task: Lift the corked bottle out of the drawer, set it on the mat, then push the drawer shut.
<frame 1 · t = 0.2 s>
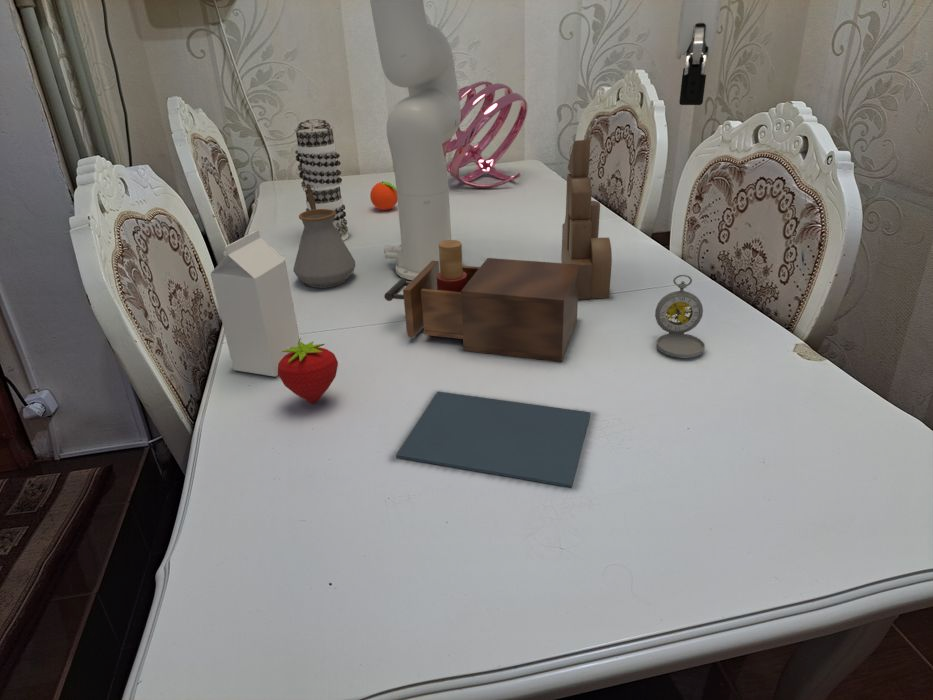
hand: (690, 100, 97), 31 cm above the table, tool pointing down, fingers open, 9 cm apart
coffee pot: (324, 272, 126), on the table
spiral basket: (482, 182, 184), on the table
mat: (497, 435, 76), on the table
wooden toy: (583, 283, 116), on the table
cabinet: (522, 335, 99), on the table
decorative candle: (329, 238, 145), on the table
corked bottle: (453, 316, 101), point 2 cm above the table, touching drawer
pocket watch: (679, 346, 94), on the table
strawberry: (314, 404, 84), on the table
drawer: (446, 299, 100), point 5 cm above the table, slide at 8.0 cm, touching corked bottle
clementine: (387, 210, 163), on the table
milk carton: (269, 364, 94), on the table
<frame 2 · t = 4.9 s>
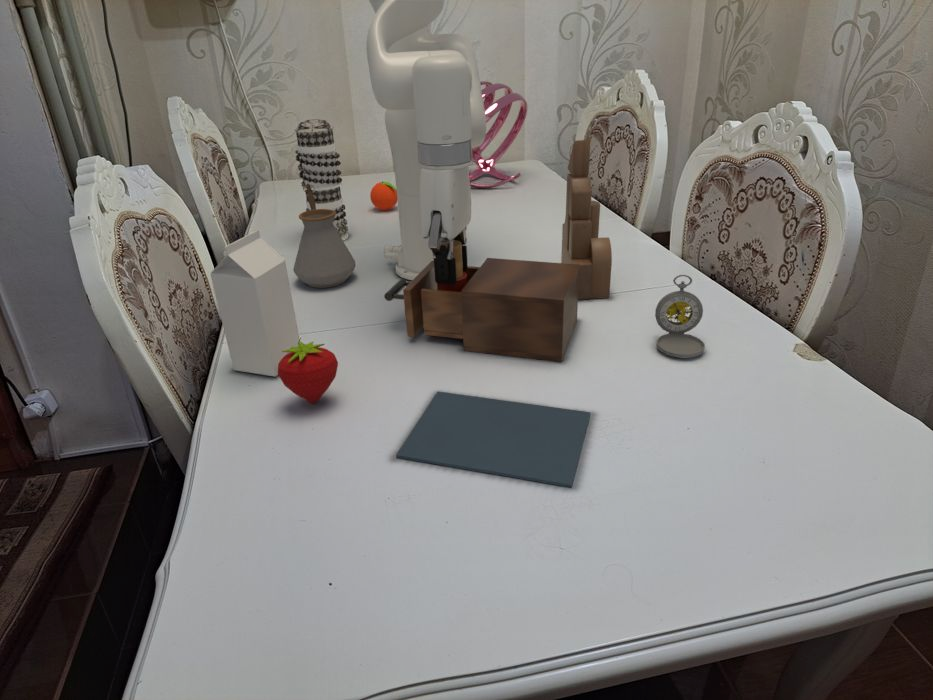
hand: (451, 275, 98), 9 cm above the table, tool pointing down, fingers closed on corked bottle, 4 cm apart
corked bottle: (453, 316, 101), point 2 cm above the table, touching drawer, gripper
everything else where it was.
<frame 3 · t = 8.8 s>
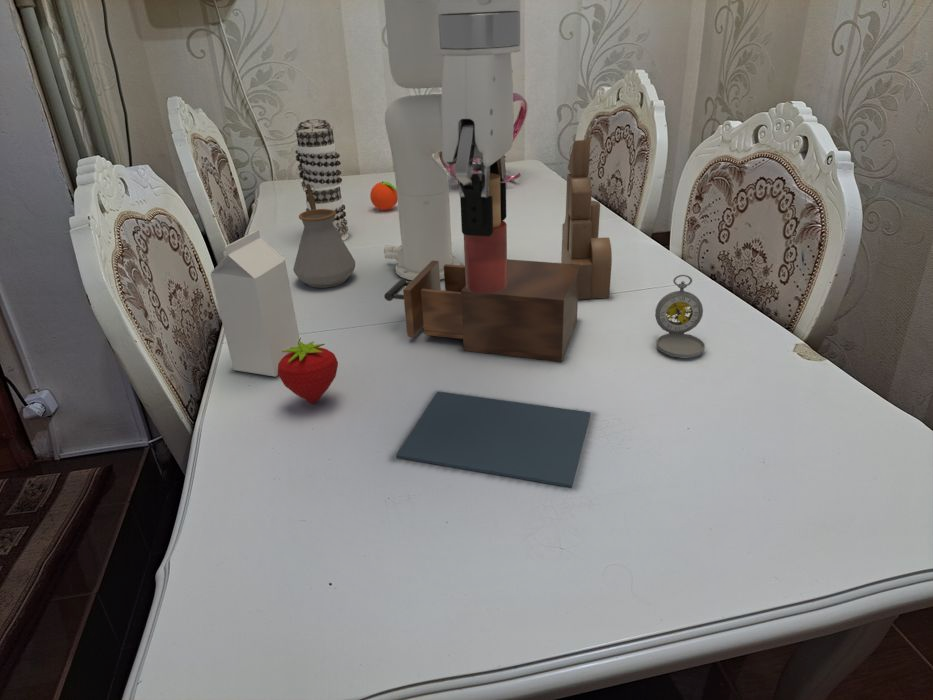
hand: (484, 225, 68), 24 cm above the table, tool pointing down, fingers closed on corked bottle, 4 cm apart
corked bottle: (486, 285, 71), point 18 cm above the table, touching gripper
drawer: (446, 299, 100), point 5 cm above the table, slide at 8.0 cm
everything else where it was.
when the fingers open (7 cm above the table, at t = 13.2 s): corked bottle stays where it is, resting on mat.
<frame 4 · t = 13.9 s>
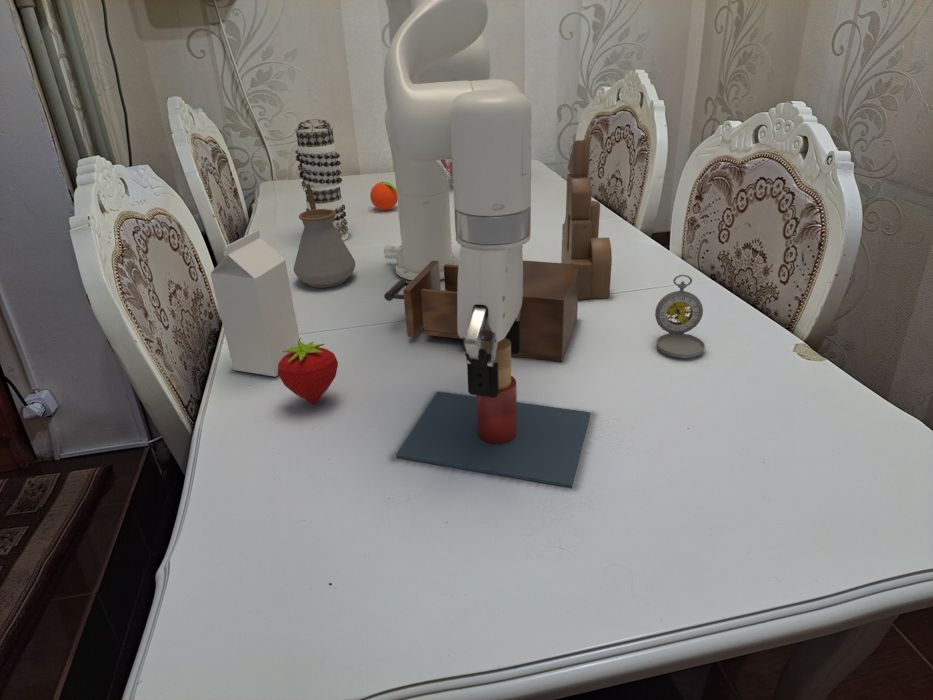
hand: (495, 372, 72), 9 cm above the table, tool pointing down, fingers open, 9 cm apart
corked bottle: (497, 432, 76), resting on mat
everything else where it was.
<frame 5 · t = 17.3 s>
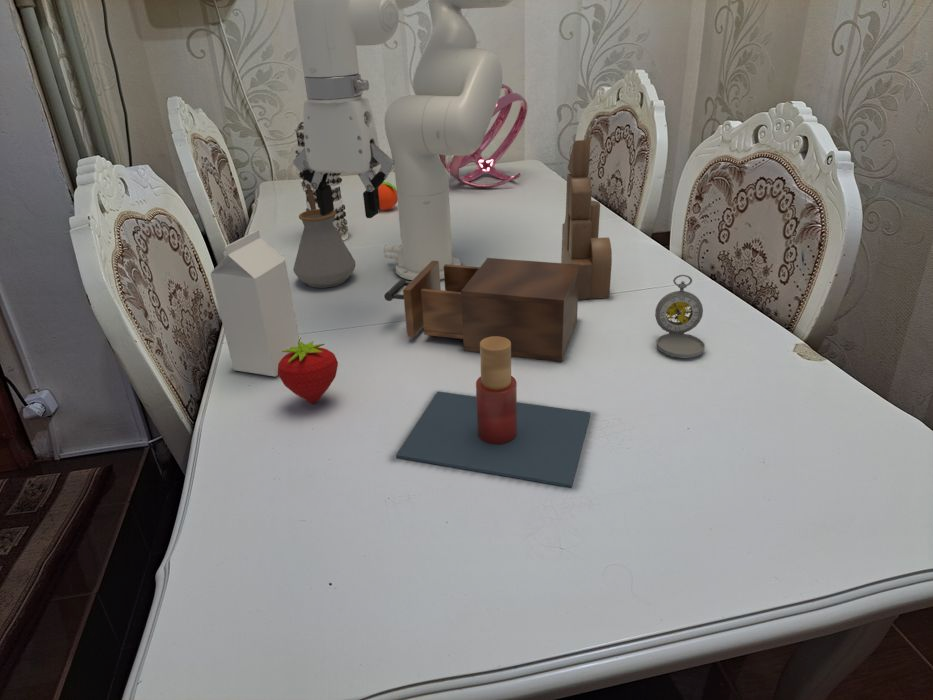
hand: (349, 213, 98), 18 cm above the table, tool pointing down, fingers open, 7 cm apart
nothing on the table moved.
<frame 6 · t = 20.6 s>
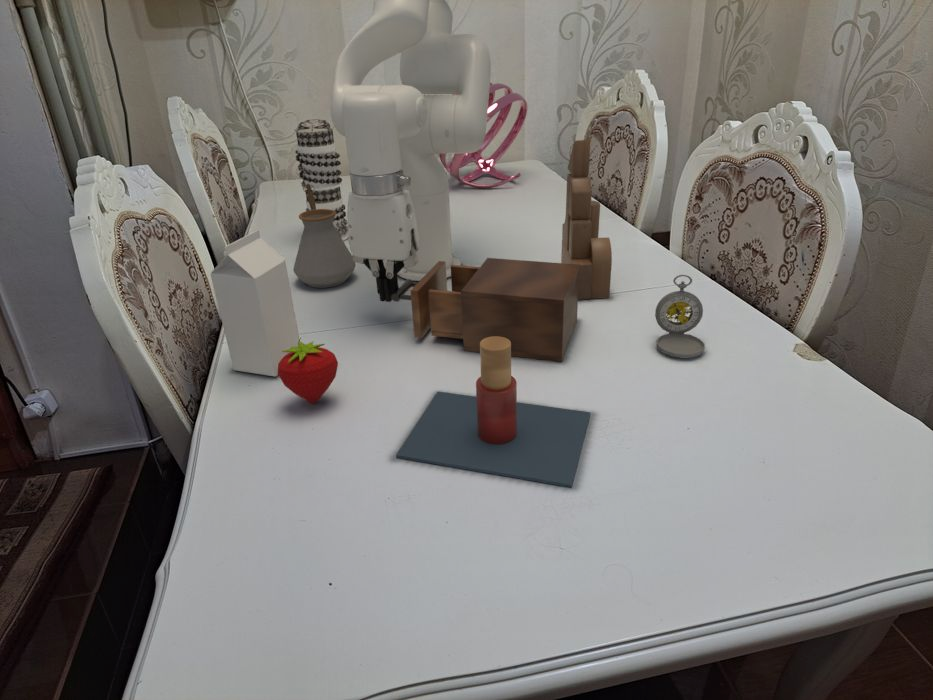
hand: (388, 298, 103), 4 cm above the table, tool pointing down, fingers closed
drawer: (453, 300, 100), point 5 cm above the table, slide at 6.8 cm
everything else where it was.
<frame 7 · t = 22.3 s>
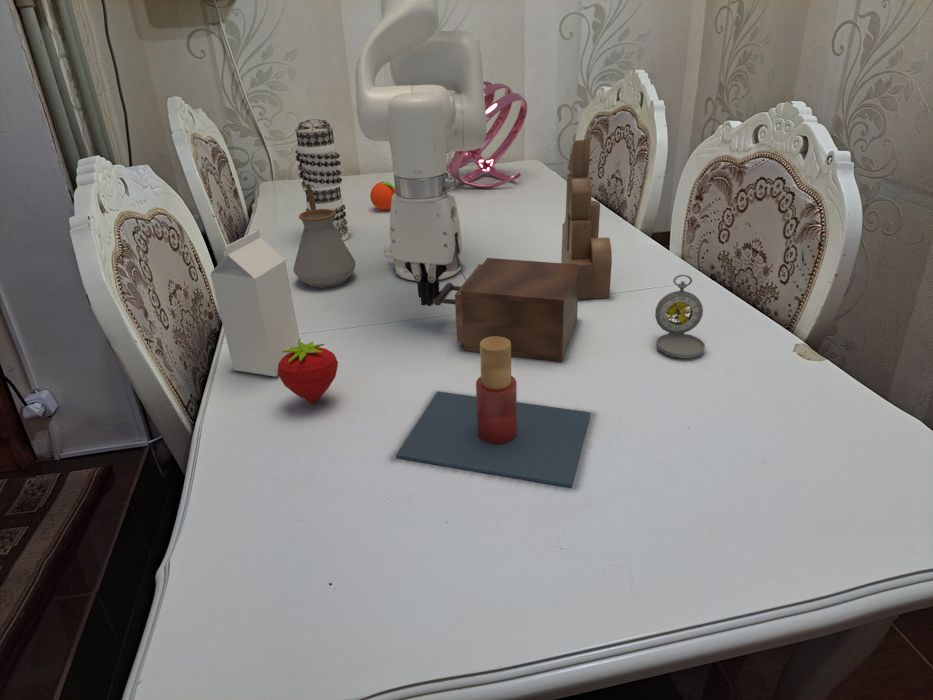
hand: (429, 302, 101), 4 cm above the table, tool pointing down, fingers closed
drawer: (496, 304, 98), point 5 cm above the table, slide at 0.0 cm, touching cabinet, gripper
everything else where it was.
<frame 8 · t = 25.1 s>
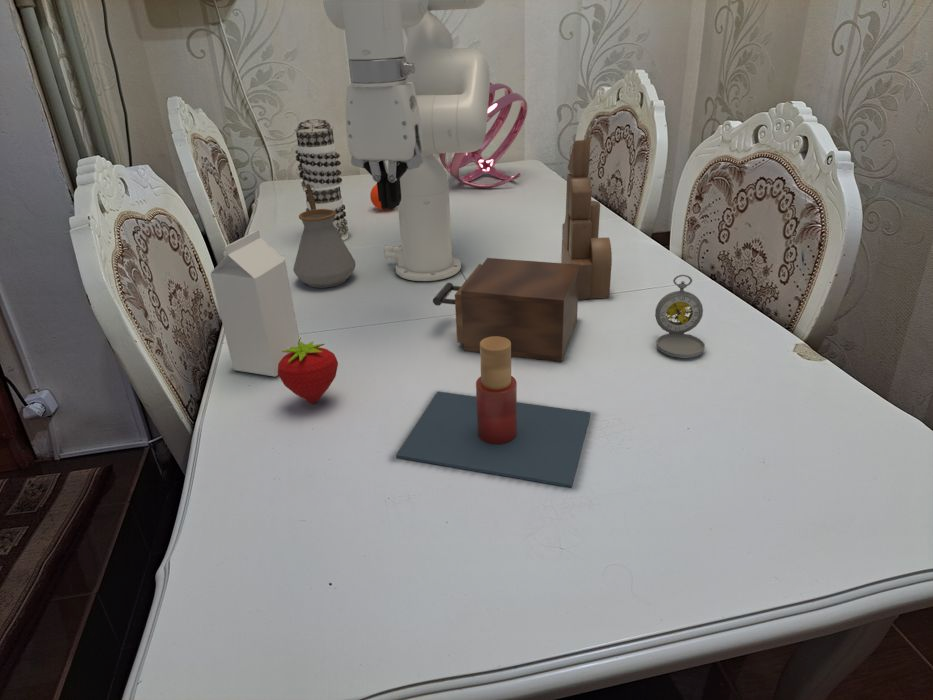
hand: (390, 206, 95), 19 cm above the table, tool pointing down, fingers closed
drawer: (496, 304, 98), point 5 cm above the table, slide at 0.0 cm
everything else where it was.
at the end: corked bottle inside the target area on the mat (0.0 cm from its centre), point 0.4 cm above the mat's base; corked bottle tilted 0°; drawer slide at 0.0 cm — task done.
